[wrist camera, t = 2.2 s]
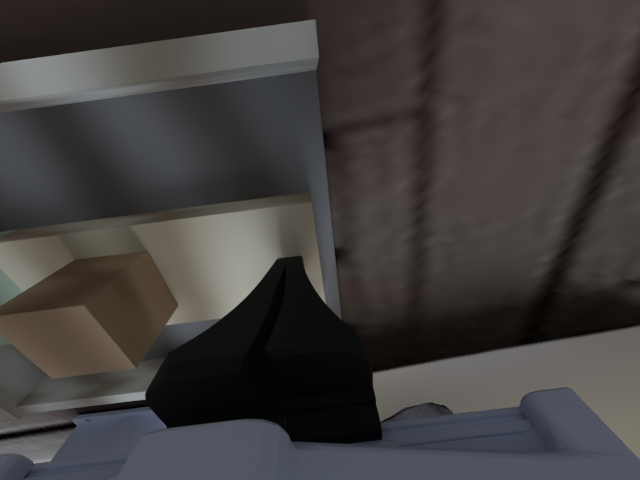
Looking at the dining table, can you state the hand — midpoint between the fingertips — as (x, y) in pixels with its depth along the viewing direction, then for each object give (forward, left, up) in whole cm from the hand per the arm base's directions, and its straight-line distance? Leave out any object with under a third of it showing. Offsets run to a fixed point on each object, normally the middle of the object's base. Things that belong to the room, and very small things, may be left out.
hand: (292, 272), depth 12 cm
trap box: (-11, 0, -3) cm, 12 cm away
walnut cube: (-9, 0, -1) cm, 10 cm away
